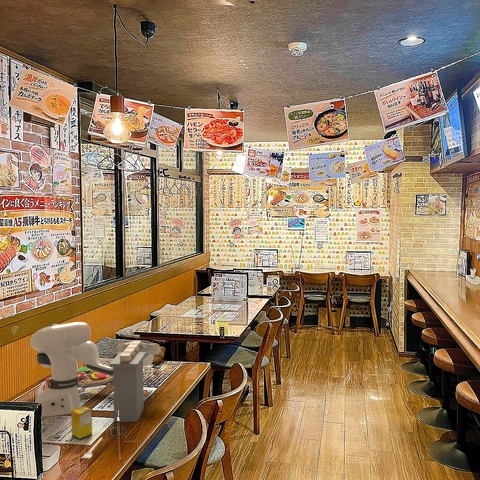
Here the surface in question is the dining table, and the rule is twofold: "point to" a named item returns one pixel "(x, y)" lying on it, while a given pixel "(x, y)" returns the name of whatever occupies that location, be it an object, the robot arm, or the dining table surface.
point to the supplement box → (81, 422)
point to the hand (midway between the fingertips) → (135, 344)
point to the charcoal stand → (128, 387)
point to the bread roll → (159, 355)
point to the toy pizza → (92, 377)
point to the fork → (89, 454)
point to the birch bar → (130, 351)
